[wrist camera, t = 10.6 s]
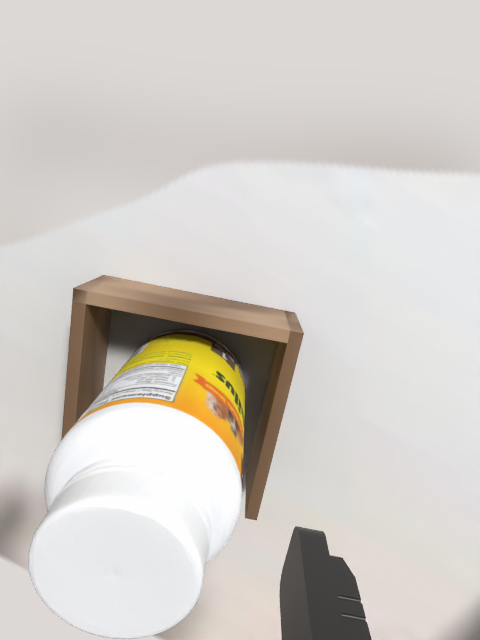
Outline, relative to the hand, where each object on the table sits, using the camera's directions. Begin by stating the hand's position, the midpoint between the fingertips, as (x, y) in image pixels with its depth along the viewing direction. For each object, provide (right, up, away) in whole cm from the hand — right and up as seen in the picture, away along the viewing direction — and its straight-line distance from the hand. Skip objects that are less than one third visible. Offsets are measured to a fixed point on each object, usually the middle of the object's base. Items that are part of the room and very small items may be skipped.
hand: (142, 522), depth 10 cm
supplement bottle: (0, +3, +8) cm, 9 cm away
